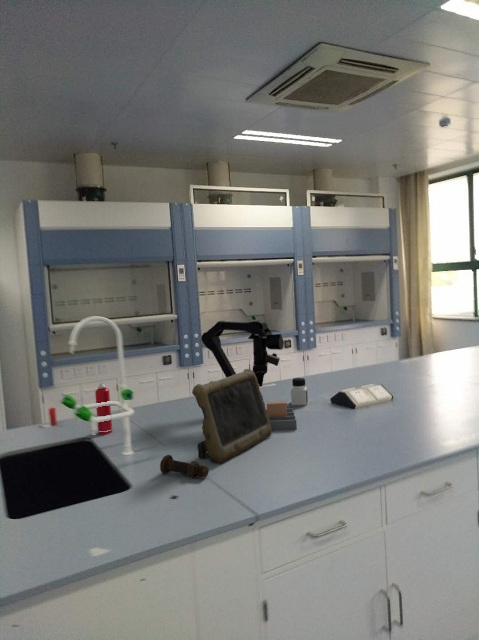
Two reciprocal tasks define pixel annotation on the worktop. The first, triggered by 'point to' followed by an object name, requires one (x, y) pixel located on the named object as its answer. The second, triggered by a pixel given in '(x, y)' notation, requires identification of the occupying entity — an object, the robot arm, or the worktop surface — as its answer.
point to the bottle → (103, 408)
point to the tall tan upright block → (277, 409)
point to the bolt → (183, 467)
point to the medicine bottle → (299, 392)
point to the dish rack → (284, 421)
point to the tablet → (231, 415)
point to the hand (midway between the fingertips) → (261, 384)
